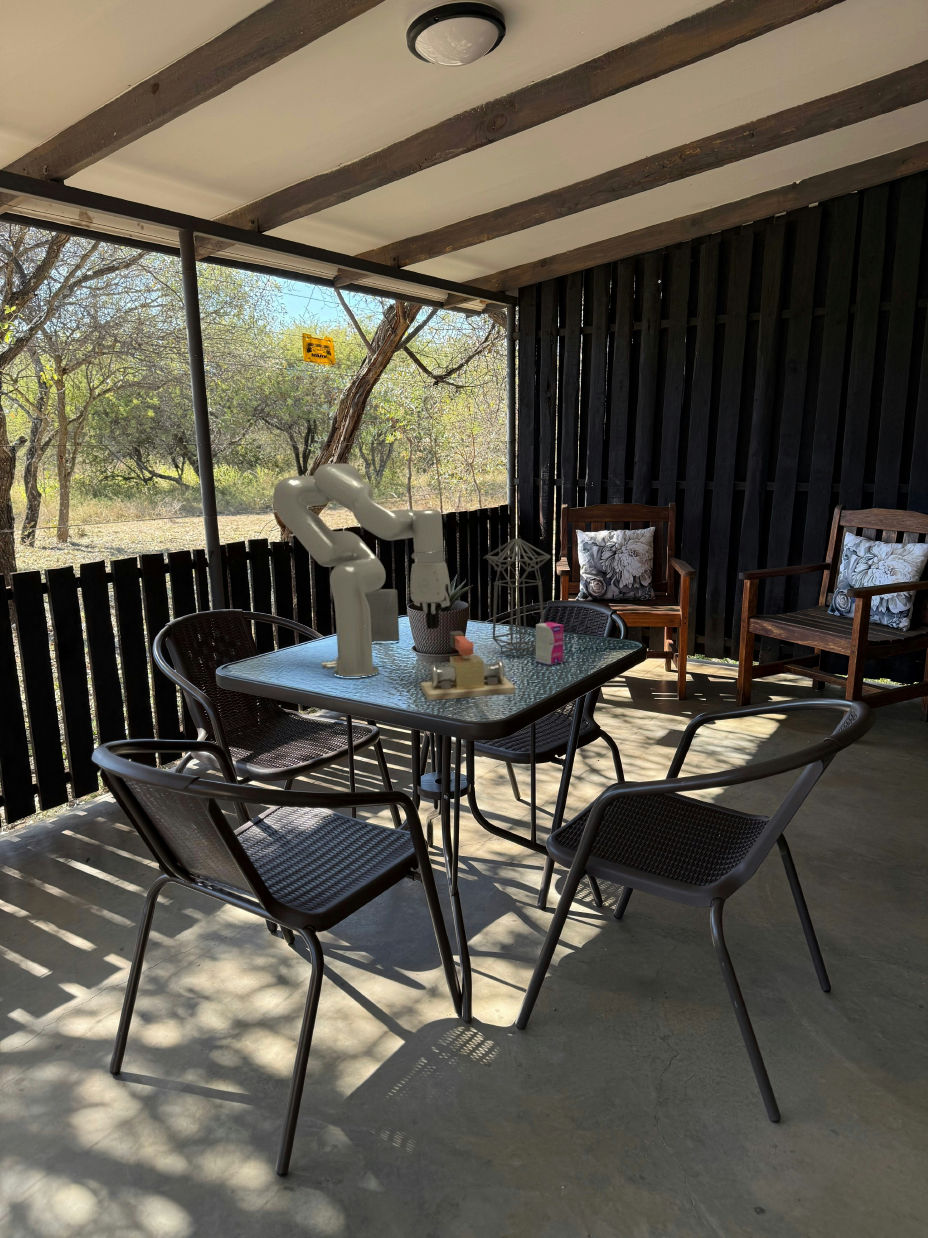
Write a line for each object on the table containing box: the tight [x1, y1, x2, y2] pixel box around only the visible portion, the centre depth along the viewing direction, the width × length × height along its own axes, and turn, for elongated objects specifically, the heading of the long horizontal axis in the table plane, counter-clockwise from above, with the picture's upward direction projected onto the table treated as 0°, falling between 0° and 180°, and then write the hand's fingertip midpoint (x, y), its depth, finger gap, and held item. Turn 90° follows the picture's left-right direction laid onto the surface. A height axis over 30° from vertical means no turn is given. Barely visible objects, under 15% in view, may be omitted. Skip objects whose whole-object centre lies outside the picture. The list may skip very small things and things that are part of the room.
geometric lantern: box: [482, 537, 552, 658], centre depth 241 cm, size 16×16×35 cm
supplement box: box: [535, 621, 564, 667], centre depth 230 cm, size 6×6×12 cm
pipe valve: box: [429, 654, 505, 690], centre depth 203 cm, size 18×8×8 cm, turn 102°
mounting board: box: [420, 676, 517, 701], centre depth 204 cm, size 22×12×2 cm, turn 102°
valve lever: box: [449, 630, 475, 659], centre depth 208 cm, size 16×4×4 cm, turn 12°
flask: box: [364, 588, 400, 642], centre depth 265 cm, size 15×6×20 cm, turn 96°
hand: (433, 627), depth 210 cm, fingers closed
